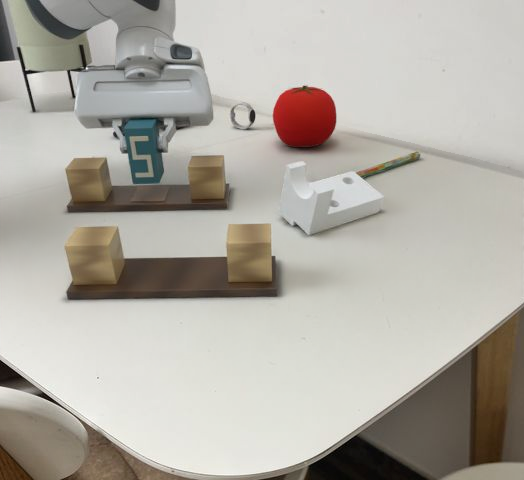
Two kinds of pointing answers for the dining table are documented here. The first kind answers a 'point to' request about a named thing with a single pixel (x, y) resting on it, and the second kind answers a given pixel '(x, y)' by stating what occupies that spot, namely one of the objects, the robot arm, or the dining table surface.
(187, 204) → the board
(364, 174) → the pencil
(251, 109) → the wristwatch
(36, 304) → the dining table surface
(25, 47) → the planter
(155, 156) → the letter S tile
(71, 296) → the board
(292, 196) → the bracket
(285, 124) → the tomato
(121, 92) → the robot arm
